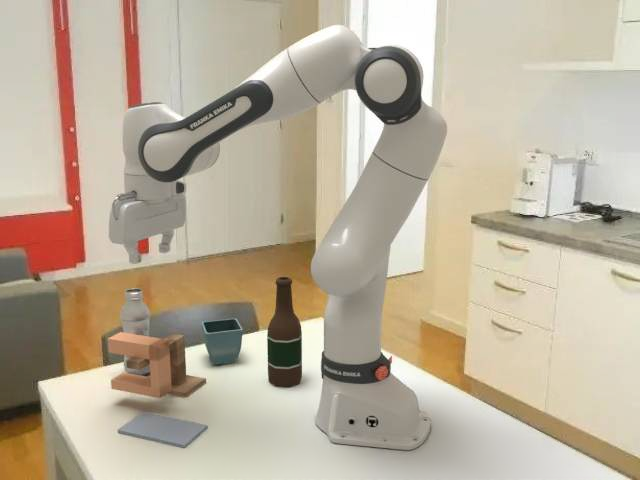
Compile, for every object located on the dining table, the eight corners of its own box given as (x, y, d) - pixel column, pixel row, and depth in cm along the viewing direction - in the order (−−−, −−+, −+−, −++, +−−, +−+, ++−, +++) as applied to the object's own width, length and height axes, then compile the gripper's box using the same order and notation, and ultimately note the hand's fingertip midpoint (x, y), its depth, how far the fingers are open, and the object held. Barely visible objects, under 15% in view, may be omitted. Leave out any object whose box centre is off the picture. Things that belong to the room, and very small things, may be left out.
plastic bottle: (150, 379, 148) (144, 295, 143) (120, 379, 148) (114, 294, 143) (157, 367, 154) (152, 286, 150) (129, 367, 154) (123, 286, 150)
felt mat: (207, 427, 126) (207, 425, 126) (184, 448, 119) (184, 445, 119) (143, 414, 132) (143, 411, 132) (117, 432, 124) (117, 429, 124)
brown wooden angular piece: (206, 382, 146) (204, 333, 144) (156, 419, 129) (153, 365, 127) (168, 375, 150) (166, 327, 147) (115, 411, 133) (111, 357, 130)
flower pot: (202, 355, 161) (200, 321, 159) (237, 351, 164) (236, 317, 162) (207, 369, 153) (205, 333, 151) (244, 365, 156) (243, 329, 154)
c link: (171, 390, 134) (168, 339, 132) (160, 398, 130) (157, 346, 128) (123, 381, 138) (120, 332, 136) (111, 388, 135) (107, 338, 132)
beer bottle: (280, 370, 152) (279, 271, 147) (308, 378, 148) (308, 276, 143) (261, 383, 146) (258, 280, 141) (290, 391, 142) (288, 285, 137)
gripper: (126, 196, 115) (129, 272, 118) (191, 183, 134) (192, 248, 137) (98, 193, 118) (102, 267, 121) (165, 180, 136) (167, 245, 139)
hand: (150, 257), depth 129 cm, fingers open, 8 cm apart
